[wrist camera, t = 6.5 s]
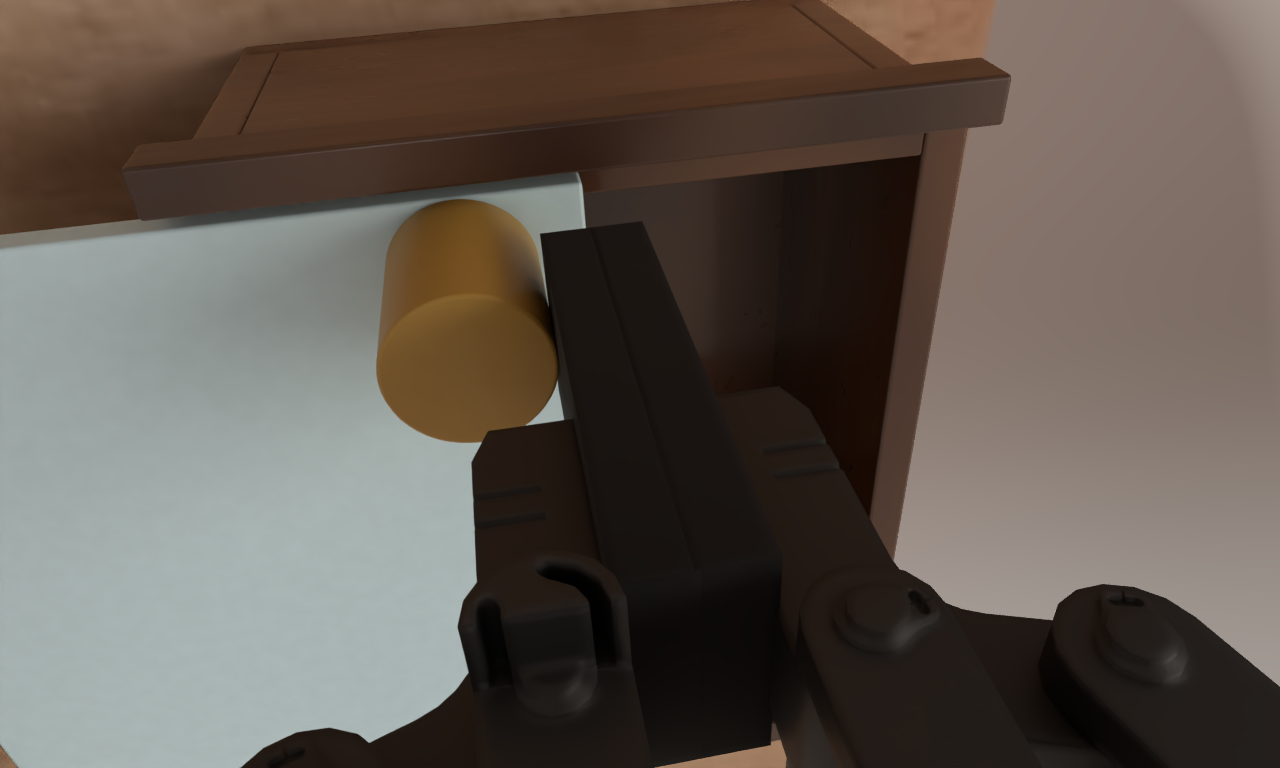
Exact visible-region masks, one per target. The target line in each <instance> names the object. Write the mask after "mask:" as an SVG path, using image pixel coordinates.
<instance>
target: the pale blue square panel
mask: <svg viewBox="0 0 1280 768" xmlns="http://www.w3.org/2000/svg"><path fill="white" fill-rule="evenodd" d="M582 228H586V223H585V211H584V200H583V188H582V183H581V180H580V177H579V174H578V172H575V173H566V174H557V175H548V176H539V177H530V178H522V179H513V180H504V181H495V182H486V183H477V184H468V185H460V186H451V187H442V188H433V189H424V190H415V191H406V192H398V193H389V194H380V195H371V196H362V197H353V198H345V199H336V200H327V201H318V202H309V203H300V204H291V205H283V206H274V207H265V208H256V209H247V210H238V211H229V212H221V213H212V214H203V215H194V216H185V217H176V218H167V219H159V220H150V221H141V220H140V219H137V220H128V221H119V222H110V223H102V224H93V225H84V226H75V227H66V228H57V229H48V230H39V231H31V232H22V233H13V234H4V235H0V745H1V747H2V748H3V749H4V750H5V752H6V753H7V754H8V756H9V757H10V758H11V759H12V761H13V762H14V763H15V765H16V766H17V767H18V768H240V767H242V766H243V765H244V764H245V763H246V762H247V761H249V760H250V759H251V758H252V757H253V756H255V755H256V754H257V753H258V752H259V751H260V750H262V749H263V748H264V747H266V746H268V745H270V744H273V743H275V742H277V741H279V740H281V739H283V738H285V737H287V736H290V735H292V734H294V733H296V732H302V731H309V730H316V729H322V728H334V729H338V730H343V731H347V732H352V733H356V734H359V735H360V736H361V737H363V738H364V739H365V740H366V741H367V742H369V743H370V742H372V741H374V740H376V739H378V738H380V737H382V736H384V735H386V734H388V733H390V732H392V731H394V730H396V729H398V728H400V727H402V726H404V725H407V724H409V723H411V722H413V721H415V720H417V719H418V718H420V717H421V716H423V715H425V714H426V713H428V712H430V711H431V710H433V709H435V708H436V707H438V706H439V705H440V704H441V703H442V702H443V701H444V700H446V699H447V698H448V697H449V696H450V695H451V694H452V693H453V692H454V691H455V690H456V689H457V688H458V686H459V685H460V684H461V682H462V681H463V680H464V678H465V677H466V675H467V674H468V673H469V672H468V668H467V664H466V660H465V656H464V652H463V648H462V644H461V640H460V636H459V632H458V628H457V626H458V621H459V617H460V612H461V608H462V603H463V600H464V599H465V597H466V596H467V595H468V593H469V592H470V591H471V589H472V588H473V587H474V585H475V584H476V583H477V578H476V556H475V534H474V530H475V526H474V512H473V502H474V501H473V490H472V468H471V462H472V460H473V458H474V456H475V454H476V453H477V451H478V449H479V447H480V445H481V443H482V441H483V439H484V438H485V436H486V434H487V432H488V431H492V430H499V429H506V428H512V427H519V426H526V425H533V424H540V423H547V422H554V421H561V420H564V416H563V411H562V405H561V400H560V395H559V388H558V376H559V359H558V351H557V346H556V341H555V336H554V331H553V326H552V321H551V316H550V311H549V305H548V297H547V288H546V280H545V272H544V263H543V255H542V247H541V239H540V234H541V233H549V232H557V231H565V230H574V229H582Z"/></svg>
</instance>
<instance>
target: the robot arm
mask: <svg viewBox="0 0 1280 768" xmlns="http://www.w3.org/2000/svg"><path fill="white" fill-rule="evenodd" d="M540 239H541V247H542V255H543V263H544V272H545V280H546V288H547V297H548V305H549V311H550V316H551V321H552V326H553V331H554V336H555V341H556V346H557V351H558V359H559V376H558V388H559V395H560V400H561V405H562V411H563V416H564V420H561V421H554V422H547V423H540V424H533V425H526V426H519V427H512V428H506V429H499V430H492V431H488V432H487V434H486V436H485V438H484V439H483V441H482V443H481V445H480V447H479V449H478V451H477V453H476V454H475V456H474V458H473V460H472V462H471V468H472V490H473V501H474V502H473V512H474V526H475V530H474V534H475V556H476V578H477V583H476V584H475V585H474V587H473V588H472V589H471V591H470V592H469V593H468V595H467V596H466V597H465V599H464V600H463V603H462V608H461V612H460V617H459V621H458V626H457V628H458V632H459V636H460V640H461V644H462V648H463V652H464V656H465V660H466V664H467V668H468V672H469V673H468V674H467V675H466V677H465V678H464V680H463V681H462V682H461V684H460V685H459V686H458V688H457V689H456V690H455V691H454V692H453V693H452V694H451V695H450V696H449V697H448V698H447V699H446V700H444V701H443V702H442V703H441V704H440V705H439V706H438V707H436V708H435V709H433V710H431V711H430V712H428V713H426V714H425V715H423V716H421V717H420V718H418V719H417V720H415V721H413V722H411V723H409V724H407V725H404V726H402V727H400V728H398V729H396V730H394V731H392V732H390V733H388V734H386V735H384V736H382V737H380V738H378V739H376V740H374V741H372V742H370V743H369V742H367V741H366V740H365V739H364V738H363V737H361V736H360V735H359V734H356V733H352V732H347V731H343V730H338V729H334V728H322V729H316V730H309V731H302V732H296V733H294V734H292V735H290V736H287V737H285V738H283V739H281V740H279V741H277V742H275V743H273V744H270V745H268V746H266V747H264V748H263V749H262V750H260V751H259V752H258V753H257V754H256V755H255V756H253V757H252V758H251V759H250V760H249V761H247V762H246V763H245V764H244V765H243V766H242V767H240V768H655V767H660V766H665V765H670V764H675V763H681V762H686V761H691V760H696V759H701V758H706V757H711V756H716V755H722V754H727V753H732V752H737V751H742V750H748V749H753V748H758V747H763V746H768V745H771V732H772V717H773V719H774V722H775V724H776V727H777V730H778V733H779V736H780V739H781V742H782V745H783V748H784V751H785V754H786V757H787V761H786V768H1280V687H1279V686H1278V685H1277V684H1276V683H1274V682H1273V681H1272V680H1271V679H1270V678H1268V677H1267V676H1266V675H1265V674H1264V673H1262V672H1261V671H1260V670H1259V669H1258V668H1256V667H1255V666H1254V665H1253V664H1252V663H1250V662H1249V661H1248V660H1247V659H1246V658H1244V657H1243V656H1242V655H1241V654H1239V653H1238V652H1237V651H1236V650H1234V649H1233V648H1232V647H1231V646H1230V645H1229V644H1227V643H1226V642H1225V641H1224V640H1223V639H1221V638H1220V637H1219V636H1218V635H1216V634H1215V633H1214V632H1213V631H1212V630H1210V629H1209V628H1208V627H1207V626H1205V625H1204V624H1203V623H1202V622H1201V621H1199V620H1198V619H1197V618H1196V617H1194V616H1193V615H1191V614H1190V613H1188V612H1187V611H1185V610H1183V609H1181V608H1180V607H1179V606H1177V605H1176V604H1174V603H1173V602H1171V601H1169V600H1168V599H1166V598H1164V597H1161V596H1158V595H1155V594H1152V593H1149V592H1146V591H1144V590H1141V589H1138V588H1135V587H1128V586H1117V585H1107V584H1101V585H1097V586H1092V587H1087V588H1083V589H1078V590H1076V591H1074V592H1073V593H1072V594H1071V595H1069V596H1068V597H1067V598H1065V599H1064V600H1063V601H1061V602H1060V603H1059V604H1058V606H1057V609H1056V612H1055V615H1054V618H1053V620H1043V619H1034V618H1024V617H1014V616H1004V615H994V614H985V613H979V612H974V611H969V610H964V609H960V608H958V607H955V606H952V605H950V604H947V603H945V602H944V601H943V600H942V598H941V597H940V596H939V595H938V594H937V593H936V592H935V590H934V589H933V588H932V587H931V586H930V585H928V584H926V583H925V582H923V581H921V580H920V579H918V578H916V577H915V576H913V575H911V574H910V573H908V572H906V571H903V570H900V569H899V568H898V567H897V566H896V564H895V563H894V561H893V560H892V558H891V557H890V555H889V553H888V551H887V549H886V547H885V546H884V544H883V542H882V540H881V538H880V537H879V535H878V533H877V531H876V529H875V527H874V526H873V524H872V522H871V520H870V518H869V517H868V515H867V513H866V511H865V509H864V507H863V506H862V504H861V502H860V500H859V498H858V497H857V495H856V493H855V491H854V489H853V487H852V486H851V484H850V482H849V480H848V478H847V477H846V475H845V473H844V471H843V469H840V468H839V462H838V460H837V458H836V457H835V455H834V453H833V451H832V449H831V448H830V446H829V444H828V445H827V444H826V438H825V437H824V435H823V433H822V431H821V429H820V428H819V426H818V424H817V422H816V420H815V418H814V417H813V415H812V413H811V411H810V409H809V408H807V407H806V406H805V405H803V404H802V403H801V402H799V401H798V400H797V399H795V398H794V397H793V396H791V395H790V394H789V393H787V392H786V391H785V390H783V389H782V388H781V387H779V386H775V387H768V388H761V389H754V390H747V391H740V392H733V393H727V394H720V395H715V393H714V390H713V388H712V386H711V383H710V381H709V379H708V376H707V374H706V371H705V369H704V367H703V364H702V362H701V360H700V357H699V355H698V352H697V350H696V348H695V345H694V343H693V340H692V338H691V336H690V333H689V331H688V329H687V326H686V324H685V321H684V319H683V317H682V314H681V312H680V310H679V307H678V305H677V302H676V300H675V298H674V295H673V293H672V290H671V288H670V286H669V283H668V281H667V279H666V276H665V274H664V271H663V269H662V267H661V264H660V262H659V260H658V257H657V255H656V252H655V250H654V248H653V245H652V243H651V240H650V238H649V236H648V233H647V231H646V229H645V226H644V224H643V221H639V222H631V223H623V224H615V225H606V226H598V227H590V228H582V229H574V230H565V231H557V232H549V233H541V234H540Z"/></svg>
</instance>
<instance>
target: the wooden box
mask: <svg viewBox="0 0 1280 768" xmlns="http://www.w3.org/2000/svg"><path fill="white" fill-rule="evenodd" d="M1010 82H1011V76H1010V74H1008V73H1006V72H1005V71H1003V70H1001V69H999V68H998V67H996V66H994V65H993V64H991V63H989V62H988V61H986V60H984V59H983V58H973V59H963V60H954V61H944V62H934V63H925V64H915V65H912V64H910V63H909V62H908V61H906V60H905V59H903V58H902V57H900V56H899V55H898V54H896V53H895V52H893V51H892V50H890V49H889V48H888V47H886V46H885V45H883V44H882V43H880V42H879V41H878V40H876V39H875V38H873V37H872V36H870V35H869V34H867V33H866V32H865V31H863V30H862V29H860V28H859V27H857V26H856V25H855V24H853V23H852V22H850V21H849V20H847V19H846V18H845V17H843V16H842V15H840V14H839V13H837V12H836V11H835V10H833V9H832V8H830V7H829V6H827V5H826V4H825V3H823V2H822V1H820V0H753V1H743V2H732V3H721V4H710V5H699V6H688V7H678V8H667V9H656V10H645V11H634V12H623V13H613V14H602V15H591V16H580V17H569V18H558V19H547V20H537V21H526V22H515V23H504V24H493V25H482V26H472V27H461V28H450V29H439V30H428V31H417V32H407V33H396V34H385V35H374V36H363V37H352V38H342V39H331V40H320V41H309V42H298V43H287V44H281V45H280V44H278V45H267V46H256V47H247V48H246V49H245V51H244V52H243V54H242V56H241V57H240V59H239V61H238V62H237V64H236V66H235V67H234V69H233V71H232V73H231V74H230V76H229V78H228V79H227V81H226V83H225V84H224V86H223V88H222V89H221V91H220V93H219V94H218V96H217V98H216V99H215V101H214V103H213V105H212V106H211V108H210V110H209V111H208V113H207V115H206V116H205V118H204V120H203V121H202V123H201V125H200V126H199V128H198V130H197V131H196V133H195V135H194V137H193V138H192V139H189V140H179V141H169V142H160V143H150V144H141V145H139V146H138V147H137V148H136V149H135V151H134V152H133V154H132V155H131V156H130V158H129V159H128V161H127V162H126V163H125V165H124V166H123V168H122V169H121V174H122V176H123V179H124V181H125V184H126V186H127V189H128V191H129V194H130V196H131V199H132V201H133V204H134V206H135V209H136V211H137V214H138V216H139V218H140V220H141V221H150V220H159V219H167V218H176V217H185V216H194V215H203V214H212V213H221V212H229V211H238V210H247V209H256V208H265V207H274V206H283V205H291V204H300V203H309V202H318V201H327V200H336V199H345V198H353V197H362V196H371V195H380V194H389V193H398V192H406V191H415V190H424V189H433V188H442V187H451V186H460V185H468V184H477V183H486V182H495V181H504V180H513V179H522V178H530V177H539V176H548V175H557V174H566V173H575V172H578V174H579V177H580V180H581V183H582V188H583V200H584V211H585V223H586V228H590V227H598V226H606V225H615V224H623V223H631V222H639V221H643V224H644V226H645V229H646V231H647V233H648V236H649V238H650V240H651V243H652V245H653V248H654V250H655V252H656V255H657V257H658V260H659V262H660V264H661V267H662V269H663V271H664V274H665V276H666V279H667V281H668V283H669V286H670V288H671V290H672V293H673V295H674V298H675V300H676V302H677V305H678V307H679V310H680V312H681V314H682V317H683V319H684V321H685V324H686V326H687V329H688V331H689V333H690V336H691V338H692V340H693V343H694V345H695V348H696V350H697V352H698V355H699V357H700V360H701V362H702V364H703V367H704V369H705V371H706V374H707V376H708V379H709V381H710V383H711V386H712V388H713V390H714V393H715V395H720V394H727V393H733V392H740V391H747V390H754V389H761V388H768V387H775V386H779V387H781V388H782V389H783V390H785V391H786V392H787V393H789V394H790V395H791V396H793V397H794V398H795V399H797V400H798V401H799V402H801V403H802V404H803V405H805V406H806V407H807V408H809V409H810V411H811V413H812V415H813V417H814V418H815V420H816V422H817V424H818V426H819V428H820V429H821V431H822V433H823V435H824V437H825V438H826V444H827V445H828V444H829V446H830V448H831V449H832V451H833V453H834V455H835V457H836V458H837V460H838V462H839V468H840V469H843V471H844V473H845V475H846V477H847V478H848V480H849V482H850V484H851V486H852V487H853V489H854V491H855V493H856V495H857V497H858V498H859V500H860V502H861V504H862V506H863V507H864V509H865V511H866V513H867V515H868V517H869V518H870V520H871V522H872V524H873V526H874V527H875V529H876V531H877V533H878V535H879V537H880V538H881V540H882V542H883V544H884V546H885V547H886V549H887V551H888V553H889V555H890V557H891V558H892V560H893V561H894V555H895V550H896V544H897V538H898V532H899V526H900V521H901V514H902V509H903V503H904V497H905V491H906V486H907V479H908V473H909V467H910V462H911V456H912V451H913V445H914V439H915V433H916V427H917V421H918V415H919V410H920V404H921V398H922V392H923V386H924V381H925V375H926V369H927V363H928V357H929V351H930V346H931V340H932V334H933V328H934V322H935V316H936V311H937V305H938V299H939V293H940V287H941V281H942V276H943V270H944V264H945V258H946V252H947V246H948V241H949V235H950V229H951V223H952V217H953V211H954V206H955V200H956V194H957V188H958V182H959V176H960V171H961V165H962V159H963V153H964V147H965V141H966V136H967V130H968V128H973V127H982V126H990V125H999V124H1001V123H1002V122H1003V118H1004V113H1005V108H1006V102H1007V97H1008V92H1009V87H1010ZM777 740H781V739H780V736H779V733H778V730H777V727H776V724H775V722H774V719H773V717H772V732H771V741H777Z"/></svg>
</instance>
